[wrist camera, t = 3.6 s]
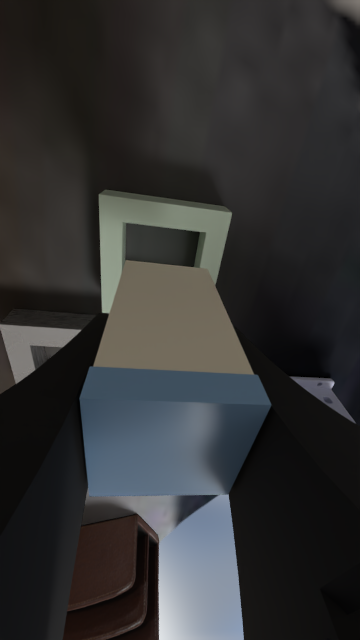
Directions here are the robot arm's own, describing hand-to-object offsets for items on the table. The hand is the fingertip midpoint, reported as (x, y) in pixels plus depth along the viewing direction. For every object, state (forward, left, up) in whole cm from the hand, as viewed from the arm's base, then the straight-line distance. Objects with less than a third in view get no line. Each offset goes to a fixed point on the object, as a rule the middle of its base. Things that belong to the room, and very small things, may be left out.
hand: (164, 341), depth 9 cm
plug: (0, 0, -3) cm, 3 cm away
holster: (0, 0, -9) cm, 9 cm away
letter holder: (+7, +48, -10) cm, 49 cm away
